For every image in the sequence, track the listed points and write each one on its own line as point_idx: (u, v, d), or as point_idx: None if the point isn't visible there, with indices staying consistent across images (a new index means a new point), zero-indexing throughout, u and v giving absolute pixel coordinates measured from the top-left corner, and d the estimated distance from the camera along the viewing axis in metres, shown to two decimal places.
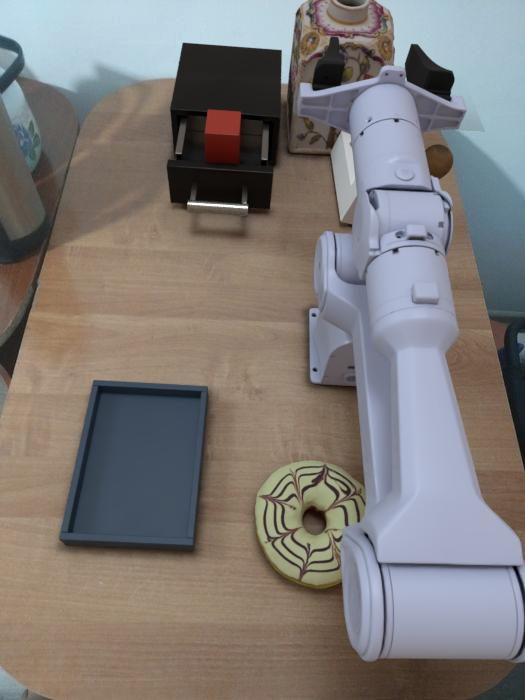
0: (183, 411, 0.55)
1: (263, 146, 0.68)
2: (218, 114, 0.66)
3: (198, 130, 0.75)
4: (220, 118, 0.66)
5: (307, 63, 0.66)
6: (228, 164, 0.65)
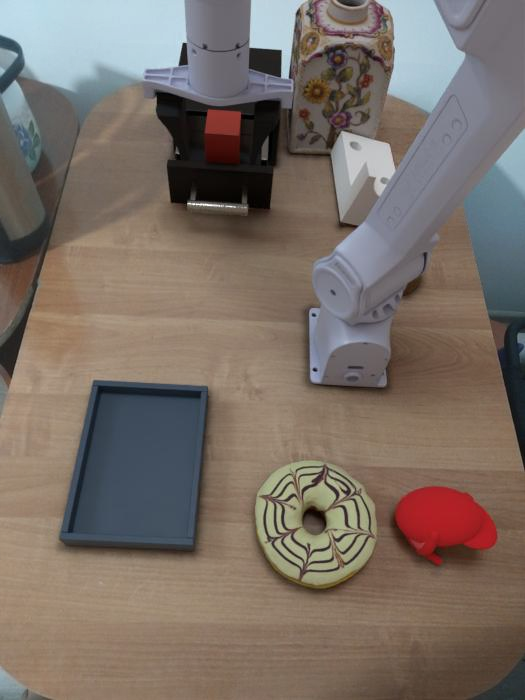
0: (183, 411, 0.55)
1: (263, 146, 0.68)
2: (218, 114, 0.66)
3: (198, 130, 0.75)
4: (220, 118, 0.66)
5: (307, 63, 0.66)
6: (228, 164, 0.65)
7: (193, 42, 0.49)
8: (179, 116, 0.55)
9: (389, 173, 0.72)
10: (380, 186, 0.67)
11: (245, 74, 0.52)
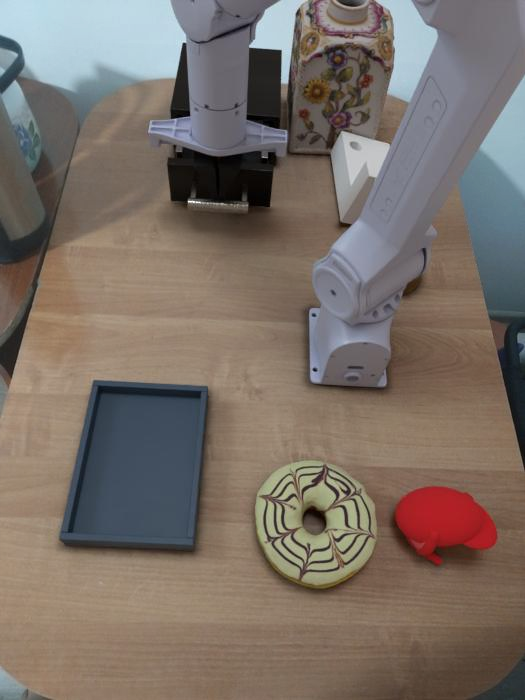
0: (183, 411, 0.55)
1: None
2: None
3: None
4: None
5: (307, 63, 0.66)
6: None
7: (195, 102, 0.54)
8: (214, 166, 0.60)
9: None
10: None
11: (243, 128, 0.57)
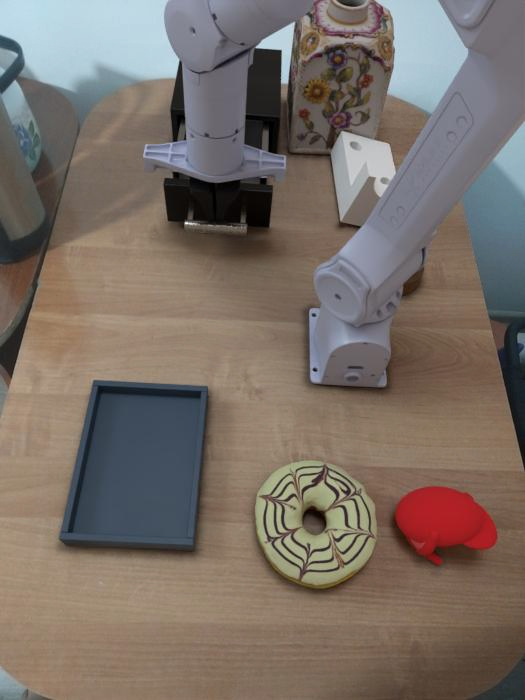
0: (183, 411, 0.55)
1: None
2: None
3: None
4: None
5: (307, 63, 0.66)
6: None
7: (192, 129, 0.52)
8: (211, 192, 0.58)
9: (389, 173, 0.72)
10: (380, 186, 0.67)
11: (240, 154, 0.55)
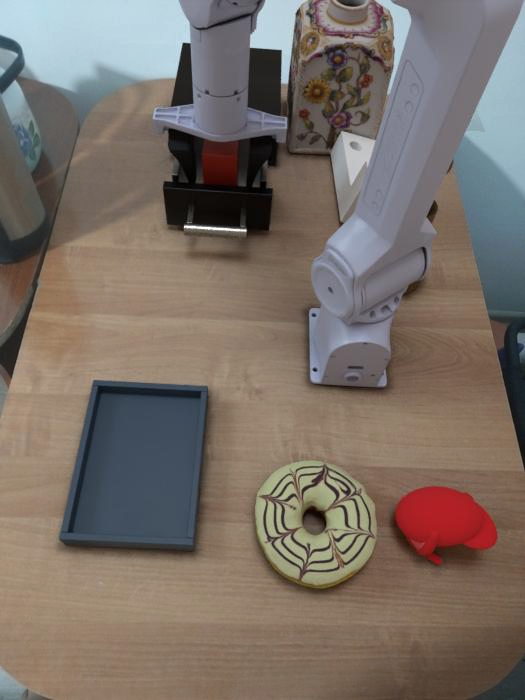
0: (183, 411, 0.55)
1: (262, 166, 0.66)
2: None
3: (195, 148, 0.73)
4: None
5: (307, 63, 0.66)
6: (226, 186, 0.63)
7: (198, 88, 0.56)
8: (188, 150, 0.61)
9: None
10: None
11: (244, 114, 0.59)
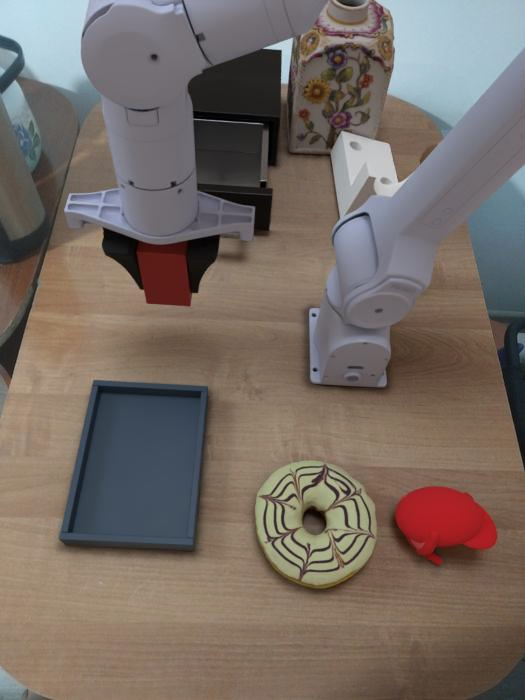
0: (183, 411, 0.55)
1: (262, 167, 0.66)
2: None
3: (195, 148, 0.73)
4: None
5: (307, 63, 0.66)
6: (226, 186, 0.63)
7: (121, 177, 0.38)
8: (131, 253, 0.44)
9: (389, 173, 0.72)
10: (380, 186, 0.67)
11: (192, 207, 0.41)
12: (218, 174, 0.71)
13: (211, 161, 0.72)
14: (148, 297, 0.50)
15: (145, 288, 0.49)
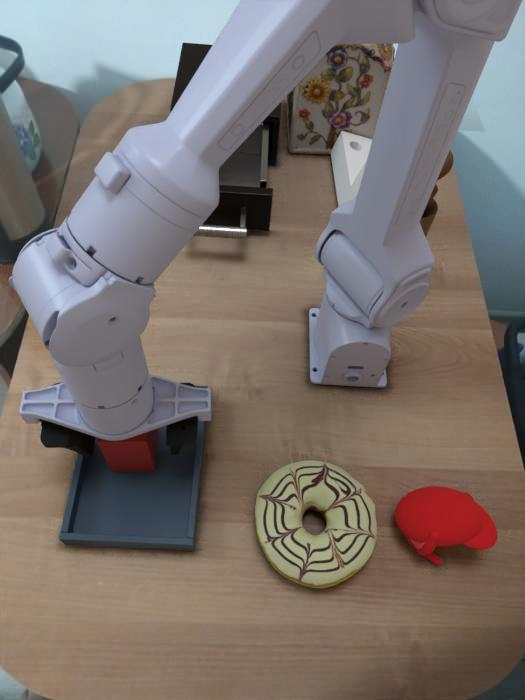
0: None
1: (262, 167, 0.66)
2: None
3: None
4: None
5: None
6: (226, 186, 0.63)
7: (73, 396, 0.38)
8: (70, 443, 0.44)
9: None
10: None
11: (147, 405, 0.42)
12: None
13: None
14: (113, 468, 0.51)
15: (109, 463, 0.50)
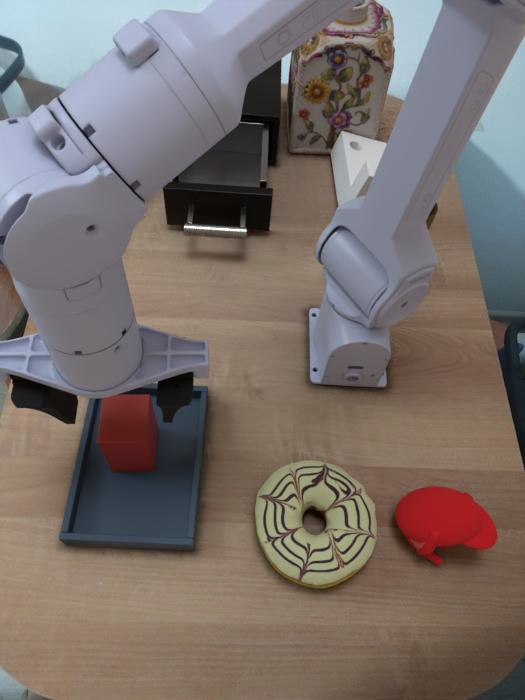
0: (183, 411, 0.55)
1: (262, 167, 0.66)
2: (117, 403, 0.47)
3: None
4: (119, 410, 0.47)
5: (307, 63, 0.66)
6: (226, 186, 0.63)
7: (44, 341, 0.32)
8: (46, 404, 0.38)
9: None
10: None
11: (134, 356, 0.36)
12: (218, 174, 0.71)
13: (211, 161, 0.72)
14: (113, 468, 0.51)
15: (109, 463, 0.50)
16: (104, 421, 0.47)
